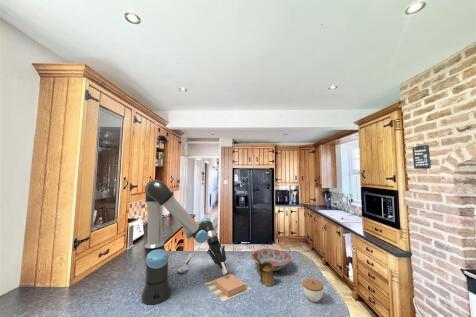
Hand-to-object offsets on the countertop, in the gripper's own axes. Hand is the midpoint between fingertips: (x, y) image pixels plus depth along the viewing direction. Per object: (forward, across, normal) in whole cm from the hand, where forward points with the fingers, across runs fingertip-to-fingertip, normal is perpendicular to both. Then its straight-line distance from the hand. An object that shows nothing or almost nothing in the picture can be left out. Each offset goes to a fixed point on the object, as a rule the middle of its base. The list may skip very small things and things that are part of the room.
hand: (225, 273), depth 120 cm
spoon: (-25, +7, -36) cm, 45 cm away
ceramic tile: (+2, 0, -5) cm, 5 cm away
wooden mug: (+14, -21, +4) cm, 25 cm away
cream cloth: (+7, 0, -3) cm, 7 cm away
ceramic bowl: (+6, -39, -5) cm, 40 cm away
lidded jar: (+33, -31, +23) cm, 51 cm away
